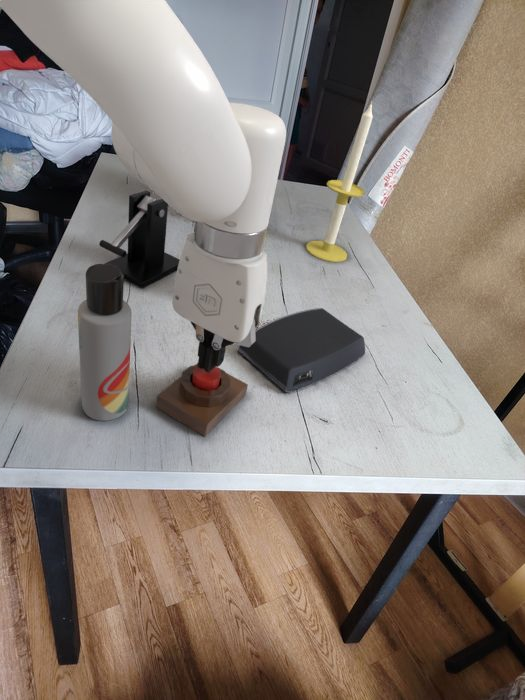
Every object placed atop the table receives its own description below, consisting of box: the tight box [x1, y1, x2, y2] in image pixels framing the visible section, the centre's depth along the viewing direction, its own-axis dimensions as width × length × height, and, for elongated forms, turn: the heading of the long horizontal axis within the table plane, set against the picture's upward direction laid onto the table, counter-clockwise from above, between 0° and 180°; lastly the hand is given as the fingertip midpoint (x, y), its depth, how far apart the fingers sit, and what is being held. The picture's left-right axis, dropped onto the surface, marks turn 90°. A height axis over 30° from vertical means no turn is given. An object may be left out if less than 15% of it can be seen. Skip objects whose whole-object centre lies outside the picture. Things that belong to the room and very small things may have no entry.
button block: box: [155, 362, 249, 437], centre depth 65 cm, size 10×8×4 cm
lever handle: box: [98, 195, 157, 257], centre depth 82 cm, size 12×5×2 cm
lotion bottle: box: [77, 263, 132, 422], centre depth 56 cm, size 6×6×20 cm
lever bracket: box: [104, 189, 180, 290], centre depth 86 cm, size 12×9×14 cm
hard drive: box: [236, 307, 366, 393], centre depth 78 cm, size 13×19×4 cm
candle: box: [305, 101, 374, 263], centre depth 103 cm, size 10×10×32 cm
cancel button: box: [192, 365, 221, 391], centre depth 63 cm, size 4×4×2 cm
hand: (209, 364), depth 62 cm, fingers closed
